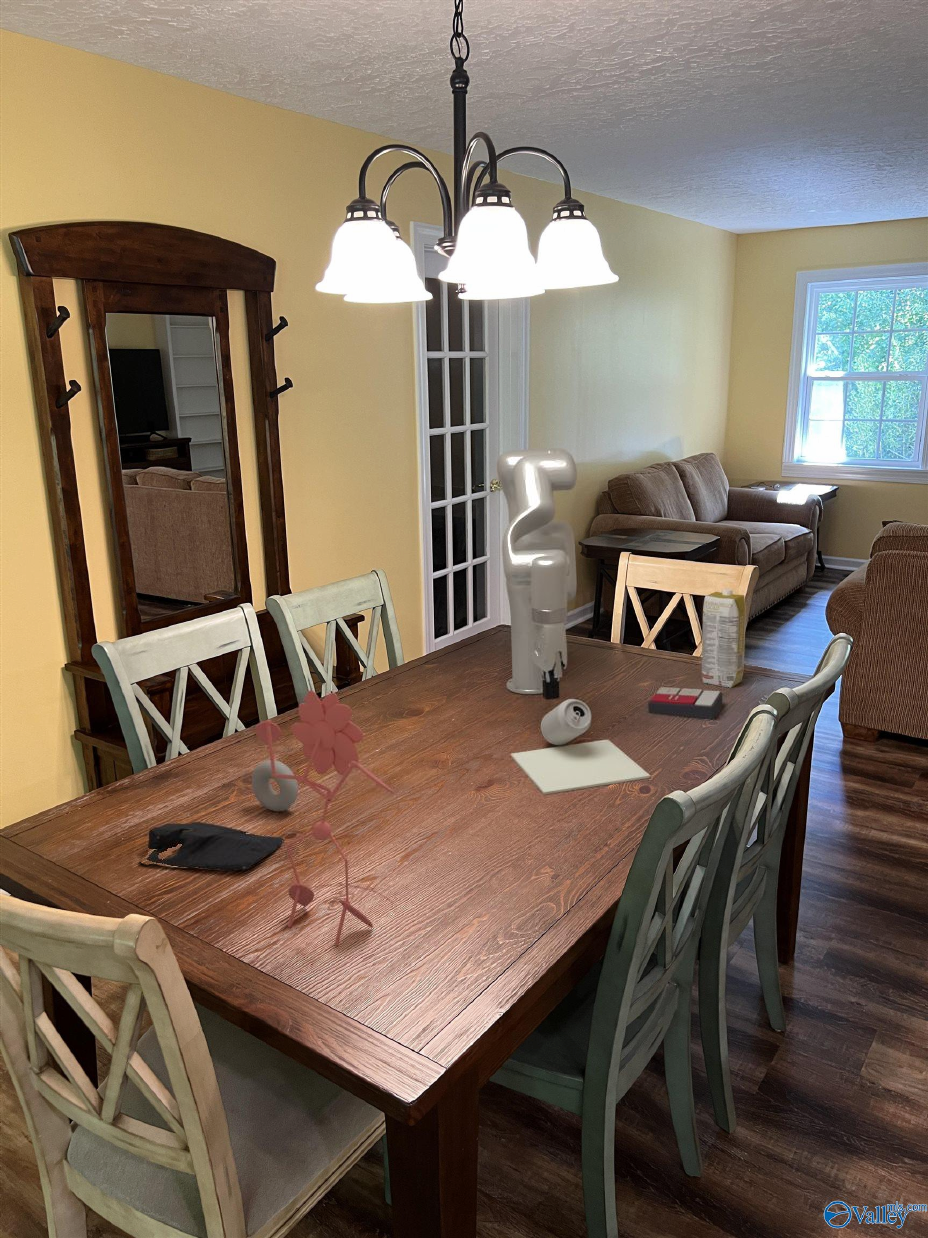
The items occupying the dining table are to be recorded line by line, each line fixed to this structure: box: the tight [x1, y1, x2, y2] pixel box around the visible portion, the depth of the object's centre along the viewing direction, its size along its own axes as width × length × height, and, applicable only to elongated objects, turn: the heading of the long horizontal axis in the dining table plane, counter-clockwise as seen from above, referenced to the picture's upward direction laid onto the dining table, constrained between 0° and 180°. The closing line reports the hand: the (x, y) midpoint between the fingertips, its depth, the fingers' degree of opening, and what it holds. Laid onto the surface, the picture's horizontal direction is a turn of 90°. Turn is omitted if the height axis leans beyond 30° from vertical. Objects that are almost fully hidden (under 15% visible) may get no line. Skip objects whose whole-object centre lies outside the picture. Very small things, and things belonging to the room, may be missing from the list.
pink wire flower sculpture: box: [254, 690, 395, 961], centre depth 132 cm, size 15×26×35 cm, turn 56°
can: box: [540, 698, 592, 746], centre depth 191 cm, size 8×8×12 cm
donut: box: [251, 759, 299, 812], centre depth 169 cm, size 10×4×10 cm, turn 63°
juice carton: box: [701, 588, 747, 688], centre depth 229 cm, size 9×8×24 cm
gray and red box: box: [647, 686, 723, 721], centre depth 214 cm, size 11×4×15 cm
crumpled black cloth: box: [147, 821, 284, 871], centre depth 156 cm, size 15×22×5 cm
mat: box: [510, 739, 651, 796], centre depth 185 cm, size 20×22×1 cm
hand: (551, 697), depth 196 cm, fingers closed
